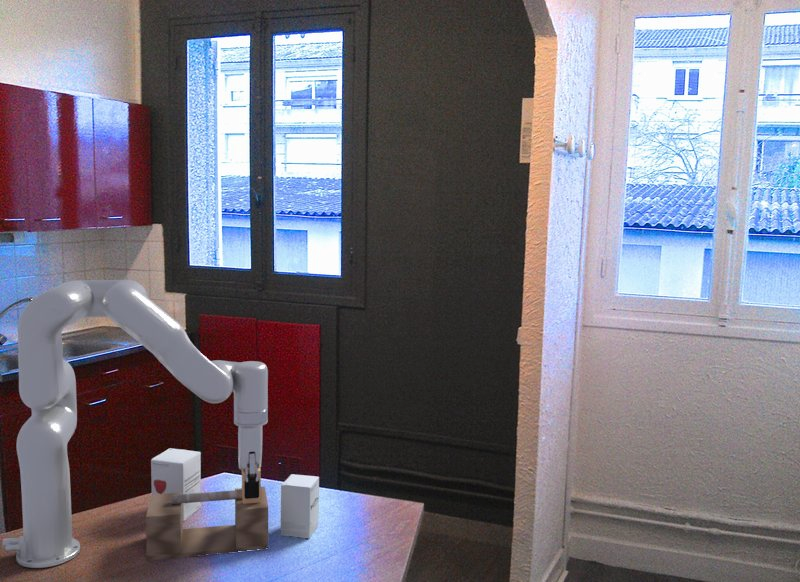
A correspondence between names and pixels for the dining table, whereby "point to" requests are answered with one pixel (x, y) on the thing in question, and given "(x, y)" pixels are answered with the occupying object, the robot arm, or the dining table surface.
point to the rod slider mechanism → (177, 542)
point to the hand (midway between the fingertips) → (251, 491)
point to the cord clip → (245, 501)
